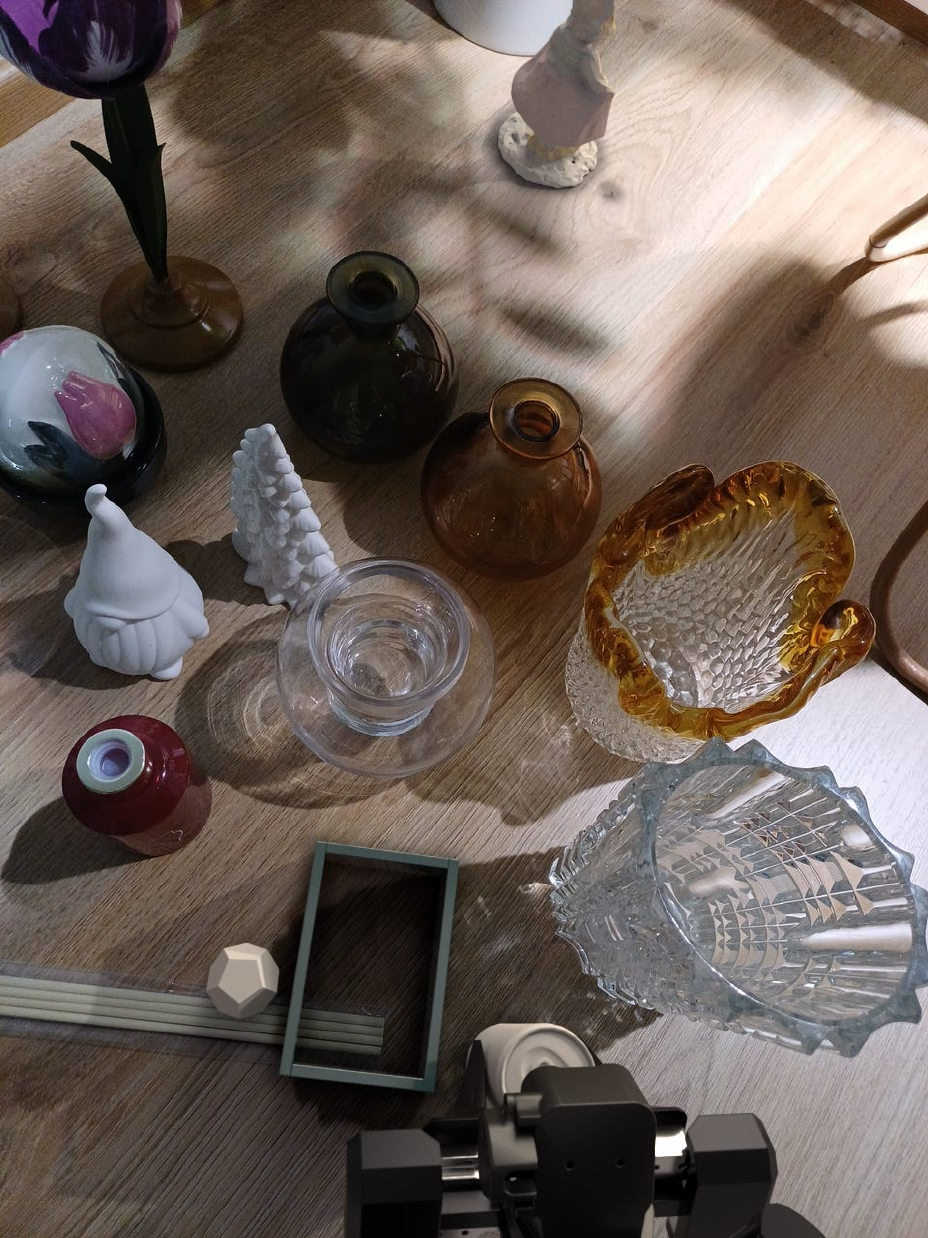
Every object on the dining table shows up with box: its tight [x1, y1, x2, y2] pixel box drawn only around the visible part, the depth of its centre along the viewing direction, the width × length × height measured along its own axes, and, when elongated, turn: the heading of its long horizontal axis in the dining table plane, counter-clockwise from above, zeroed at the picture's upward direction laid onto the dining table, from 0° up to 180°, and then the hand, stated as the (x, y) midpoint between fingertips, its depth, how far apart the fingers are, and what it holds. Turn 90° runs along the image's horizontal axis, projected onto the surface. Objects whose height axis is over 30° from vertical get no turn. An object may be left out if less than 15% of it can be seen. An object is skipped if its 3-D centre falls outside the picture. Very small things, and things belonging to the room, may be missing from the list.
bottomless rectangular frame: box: [278, 840, 460, 1093], centre depth 58 cm, size 12×8×4 cm
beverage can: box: [465, 1022, 595, 1109], centre depth 53 cm, size 5×5×12 cm
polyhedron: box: [205, 942, 280, 1020], centre depth 57 cm, size 4×4×3 cm
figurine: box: [497, 0, 617, 196], centre depth 78 cm, size 11×10×15 cm
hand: (525, 1044), depth 53 cm, fingers closed on beverage can, 5 cm apart
